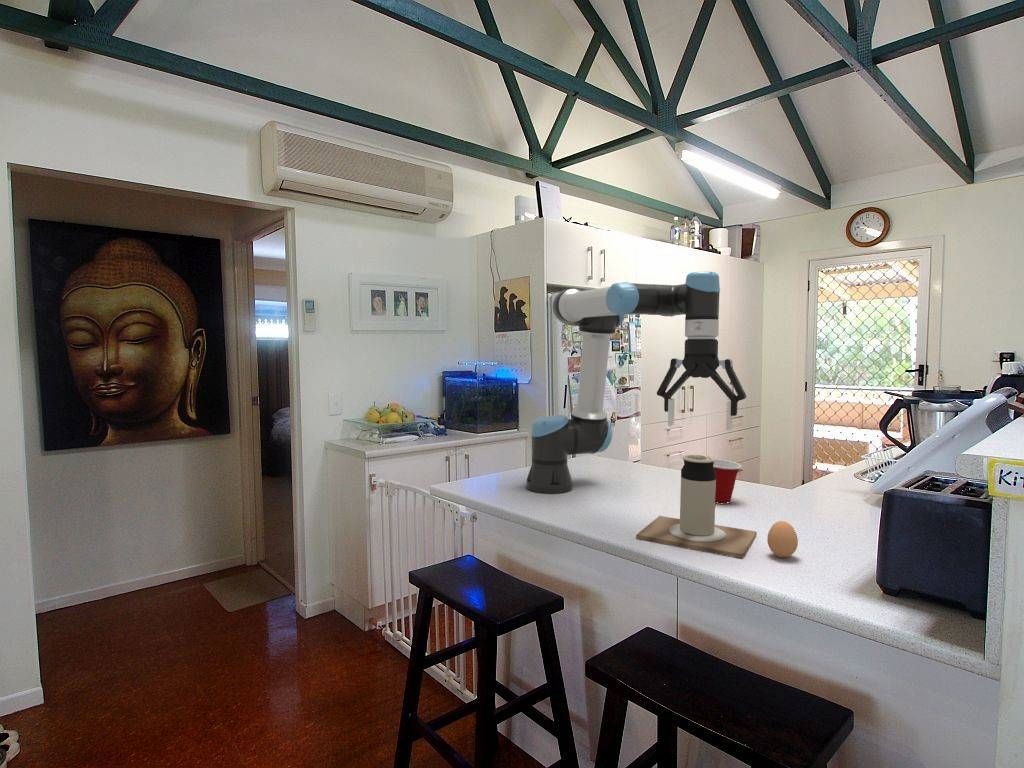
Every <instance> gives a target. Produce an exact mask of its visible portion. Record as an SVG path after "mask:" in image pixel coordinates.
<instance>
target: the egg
mask: <svg viewBox="0 0 1024 768" xmlns="http://www.w3.org/2000/svg"><path fill="white" fill-rule="evenodd" d="M798 541H799V539H798V535H797V533H796V530H795V529H794V527H793V526H792V524H790V523H789V522H787V521H785V520H778V521H777V522H774V523H773V524H772V525H771V527H770V528H769V530H768V533H767V544H768V547H769V550H770V551H771V552H772V553H773V554H774V555H776V556H777V557H779V558H785V559H786V558H788V557H790V556H792V555H793V554H794V553H795V552H796V551H797V548H798V545H799V544H798V543H799V542H798Z"/></svg>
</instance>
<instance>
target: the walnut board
mask: <svg viewBox="0 0 1024 768" xmlns="http://www.w3.org/2000/svg"><path fill="white" fill-rule="evenodd" d="M756 535H757V531H755V530H751V529H750V530H749V529H743V528H736V527H731V526H726V525H724V526H723V525H718V524H715V526H714V533H713V534H711V535H707V536H695V535H690V534H687V533H685V532H683V531H681V530H680V518H677V517H676V518H675V517H670V516H662V515H658V516H657V517H656V518H655V519H653V520H652V521H651V522H650V523H649V524H648V525H646V526H645V527H644V528H642V529H641V530H640V531H639V532H638V533H636V535H635V539H637V540H642V541H646V540H647V542H650V543H656V542H657V543H658V544H662V543H663V544H664V545H667V546H672V545H673V547H678V548H682V549H688V548H690V550H693V549H694V551H699V550H700V552H704V551H707V552H706V553H709V552H711V553H710V554H715V553H717V554H716V555H720V554H723V555H722V556H725V555H728V556H727V557H730V556H733V557H732V558H736V557H738V558H737V559H741V558H742V559H744V558H745V556H746V555H747V553H748V551H749V549H750V548H751V546H752V544H753V542H754V541H755V540H756V537H757V536H756ZM663 544H662V545H663ZM749 547H750V548H749ZM746 552H747V553H746Z"/></svg>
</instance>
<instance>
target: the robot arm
mask: <svg viewBox="0 0 1024 768" xmlns="http://www.w3.org/2000/svg"><path fill="white" fill-rule="evenodd" d="M720 291H721V288H720V276H719V274H718V273H717V272H716V271H694V272H690V273H688V274H687V275H686V276H685V283H681V284H672V285H671V284H655V283H654V284H653V283H635V282H633V283H632V282H629V281H628V282H627V281H626V282H615V283H612V284H611V286H608V287H607V286H606V287H600V288H599V287H598V288H593V289H592V288H577V287H576V288H567V289H564V290H561V291H560V292H559V293H557V295H555V297H554V299H553V301H552V312H553V315H554V317H555V318H556V319H557V321H559V322H561V323H562V324H564V325H567V326H571V327H578V331H579V333H580V334H581V335H582V342H581V343H582V345H581V354H580V355H581V356H580V368H579V376H578V377H579V379H578V388H577V399H576V400H577V402H576V408H575V409H573V410H572V411H571V415H570V416H571V417H570V418H568V416H567V415H564V414H556V415H553V414H551V415H546V416H541V417H537V418H535V420H533V422H532V425H531V432H530V435H531V465H530V468H529V472H528V474H527V478H526V483H525V485H526V487H525V488H526V490H528V491H531V492H535V493H539V494H540V493H541V494H561V493H562V494H563V493H566V492H570V491H572V490H573V484H574V483H573V479H572V475H571V472H570V469H569V466H568V456H570V455H572V456H573V455H584V454H589V455H590V454H593V455H594V454H597V453H602V452H605V451H606V450H607V449H608V448H609V446H610V445H611V443H612V440H613V439H612V438H613V428H612V423H611V421H610V420H609V418H608V415H607V413H606V412H605V410H604V402H605V401H604V399H605V391H606V382H607V381H606V380H607V369H608V360H609V351H610V341H611V338H612V337H613V336H614V335H615V334H616V328H618V327H620V326H622V325H623V322H624V321H625V317H626V316H629V315H647V316H649V315H650V316H661V317H675V316H681V315H685V316H684V317H685V318H684V336H685V337H686V338H687V339H685V340H684V356H683V359H679V358H676V357H675V358H671V359H670V365H669V368H668V370H667V372H666V373H665V376H664V377H663V380H662V381H661V384H660V385H659V388H657V389H658V390H657V391H656V395H657V396H658V397H661V398H663V402H664V403H663V410H664V413H665V412H667V426H668V427H672V426H674V425H675V403H676V402H675V398H673V396H674V395H675V393H676V392H677V391H679V389H680V388H681V387H682V386H683V385H684V384H685V382H686V381H687V380H689V378H695V379H696V378H703V379H708V378H710V379H711V380H713V381H714V382H715V383H716V385H717V387H718V388H719V389H720V390H721V391H722V393H724V394H725V396H726V397H727V398H728V400H729V401H726V431H729V432H730V431H731V430H732V429H733V417H736V416H737V415H738V406H739V405H738V403H739V401H743V400H745V399H747V395H746V391H745V390H744V388H743V386H742V383H741V382H740V380H739V378H738V376H737V374H736V372H735V370H734V368H733V367H734V366H733V360H732V359H731V358H727V359H723V360H720V359H719V356H718V355H719V340H718V339H716V338H717V337H719V330H720V329H719V325H720V324H719V323H720V322H719V321H720V320H719V318H720V316H719V315H720V314H719V313H720V294H721V293H720ZM681 365H682V367H684V369H685V371H684V372H682V374H681V375H680V377H679V378H678V379H677V380H676V381H675V382H674V384H673V385H672V386H671V387H670V388H669V385H670V383H671V382H672V380H673V377H674V376H675V374H676V372H677V370H678V369H679V368H681ZM720 366H721V367H722V369H723V370H725V372H726V374H727V376H728V378H729V381H730V383H731V384H732V386H733V389H734V391H735V392H736V394H735V392H734V391H733V390H732V389H731V388H730V386H729V385H728V383H726V381H724V380H723V378H722V377H721V375H720V373H718V371H716V370H717V369H718V368H719V367H720ZM668 388H669V389H668Z"/></svg>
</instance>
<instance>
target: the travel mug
mask: <svg viewBox="0 0 1024 768" xmlns="http://www.w3.org/2000/svg"><path fill="white" fill-rule="evenodd" d="M715 459H716V458H715V457H712V456H710V455H704V454H686V455H683V456H682V460H683V466H682V467H681V469H680V502H679V503H680V504H679V505H680V507H679V519H680V530H681V531H683V532H685V533H687V534H690V535H695V536H707V535H711V534H713V533H714V526H715V525H716V524H715V523H716V522H715V521H716V520H715V519H716V503H715V492H716V471H715V469H714V467H713V465H714V461H715Z"/></svg>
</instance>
